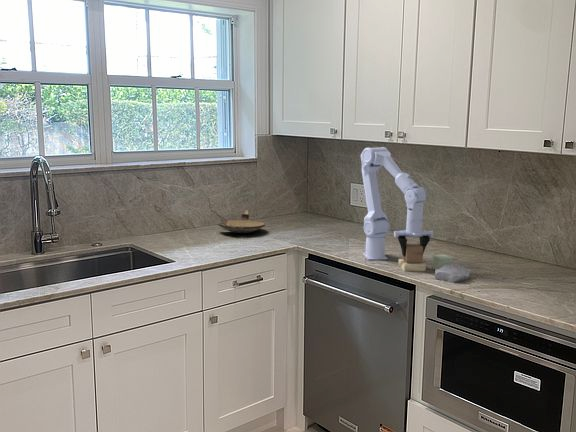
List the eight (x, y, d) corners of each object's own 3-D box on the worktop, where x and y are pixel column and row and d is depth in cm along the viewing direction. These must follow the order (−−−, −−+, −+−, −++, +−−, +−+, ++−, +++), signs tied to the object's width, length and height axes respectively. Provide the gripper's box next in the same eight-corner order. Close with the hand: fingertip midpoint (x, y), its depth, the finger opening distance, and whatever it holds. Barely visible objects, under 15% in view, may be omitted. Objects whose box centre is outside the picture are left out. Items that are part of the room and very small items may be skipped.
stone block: (470, 281, 204) (445, 271, 209) (474, 269, 202) (448, 259, 208) (458, 290, 195) (431, 279, 200) (461, 278, 193) (434, 267, 199)
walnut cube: (402, 258, 216) (402, 243, 214) (417, 258, 216) (418, 242, 215) (406, 262, 210) (407, 247, 209) (422, 262, 210) (423, 246, 209)
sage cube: (432, 268, 214) (433, 255, 213) (443, 267, 216) (444, 254, 215) (440, 271, 209) (441, 258, 208) (451, 270, 211) (452, 257, 210)
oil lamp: (208, 235, 264) (207, 219, 263) (239, 224, 291) (239, 209, 290) (250, 240, 255) (250, 223, 254) (278, 228, 282) (278, 213, 281)
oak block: (398, 266, 217) (398, 258, 216) (418, 266, 218) (419, 258, 217) (404, 272, 209) (404, 264, 209) (425, 272, 210) (425, 264, 209)
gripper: (398, 222, 205) (396, 258, 208) (437, 221, 207) (434, 258, 209) (393, 218, 212) (391, 253, 215) (430, 218, 214) (428, 253, 216)
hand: (412, 255), depth 212 cm, fingers closed on walnut cube, 6 cm apart
